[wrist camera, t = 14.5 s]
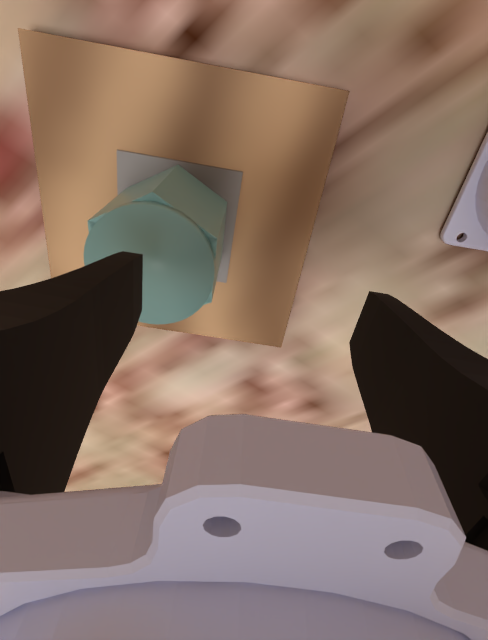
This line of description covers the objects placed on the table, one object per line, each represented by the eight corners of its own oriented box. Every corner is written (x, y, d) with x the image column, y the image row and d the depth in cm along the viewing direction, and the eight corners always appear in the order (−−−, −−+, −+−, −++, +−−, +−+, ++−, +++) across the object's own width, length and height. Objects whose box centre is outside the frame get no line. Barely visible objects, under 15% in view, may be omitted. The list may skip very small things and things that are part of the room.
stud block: (344, 90, 17) (371, 95, 13) (280, 336, 25) (283, 391, 21) (32, 30, 17) (-50, 15, 12) (64, 303, 24) (20, 353, 20)
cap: (196, 288, 22) (177, 347, 17) (104, 227, 20) (54, 275, 15) (250, 218, 19) (247, 265, 15) (152, 143, 18) (112, 168, 13)
